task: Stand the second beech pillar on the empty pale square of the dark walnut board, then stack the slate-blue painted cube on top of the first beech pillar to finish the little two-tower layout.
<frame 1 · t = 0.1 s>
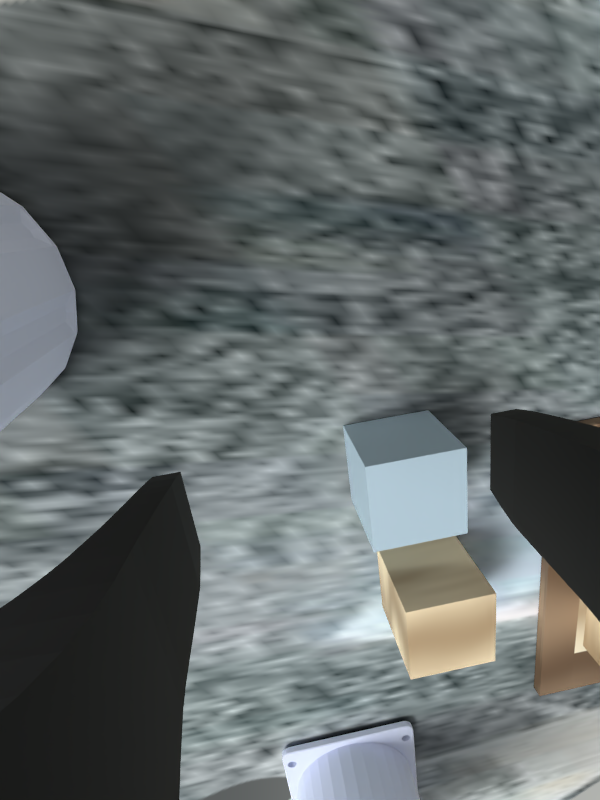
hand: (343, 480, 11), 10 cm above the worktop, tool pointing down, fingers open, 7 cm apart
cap: (388, 455, 22), on the worktop
pillar b: (416, 568, 25), on the worktop
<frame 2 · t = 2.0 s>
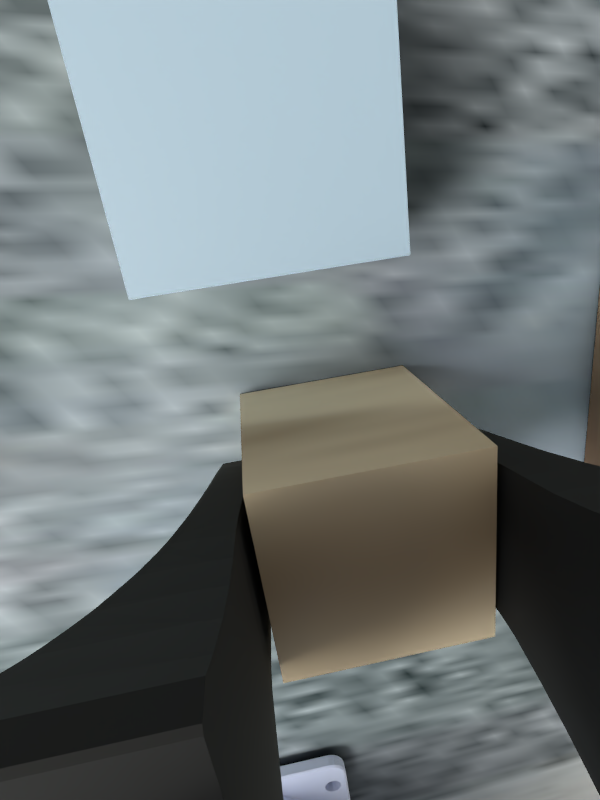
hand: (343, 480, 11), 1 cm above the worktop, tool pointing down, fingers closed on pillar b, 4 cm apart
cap: (243, 156, 10), on the worktop
pillar b: (331, 452, 12), on the worktop, touching gripper
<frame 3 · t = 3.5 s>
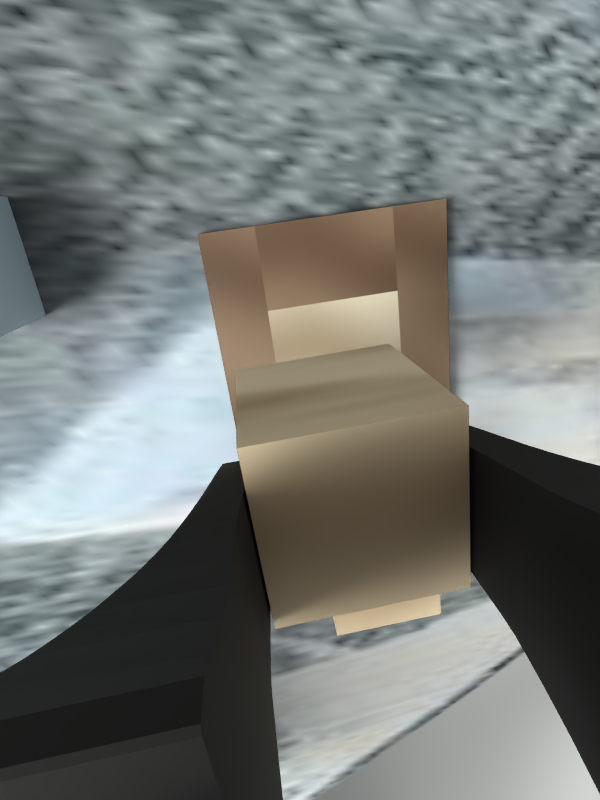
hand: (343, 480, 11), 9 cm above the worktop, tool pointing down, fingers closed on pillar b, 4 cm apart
pillar a: (355, 512, 21), point 1 cm above the worktop, touching board
board: (345, 436, 21), on the worktop
pillar b: (322, 426, 13), point 7 cm above the worktop, touching gripper
when the fingers open (3 cm above the worktop, at t = 5.2 s): pillar b stays where it is, resting on board.
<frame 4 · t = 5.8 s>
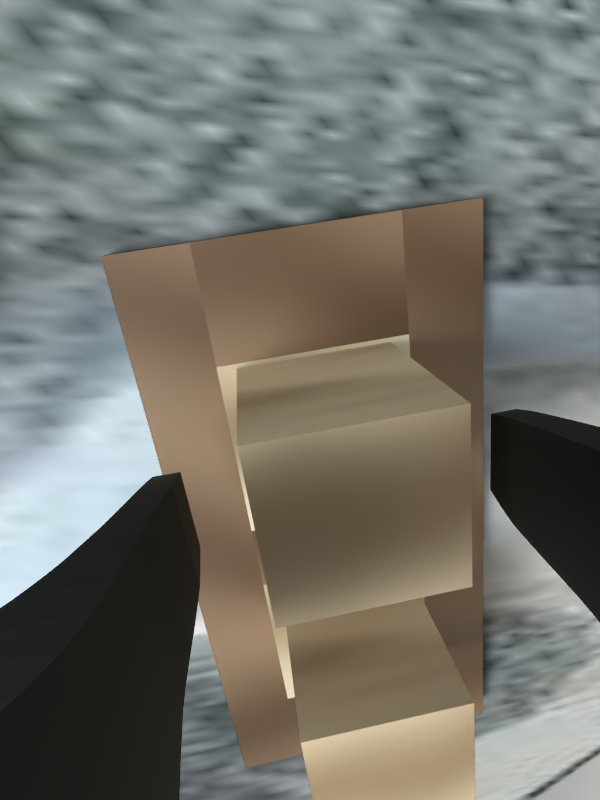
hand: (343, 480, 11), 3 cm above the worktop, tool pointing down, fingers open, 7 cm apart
pillar a: (351, 629, 15), point 1 cm above the worktop, touching board
board: (335, 530, 15), on the worktop
pillar b: (323, 425, 13), point 1 cm above the worktop, touching board
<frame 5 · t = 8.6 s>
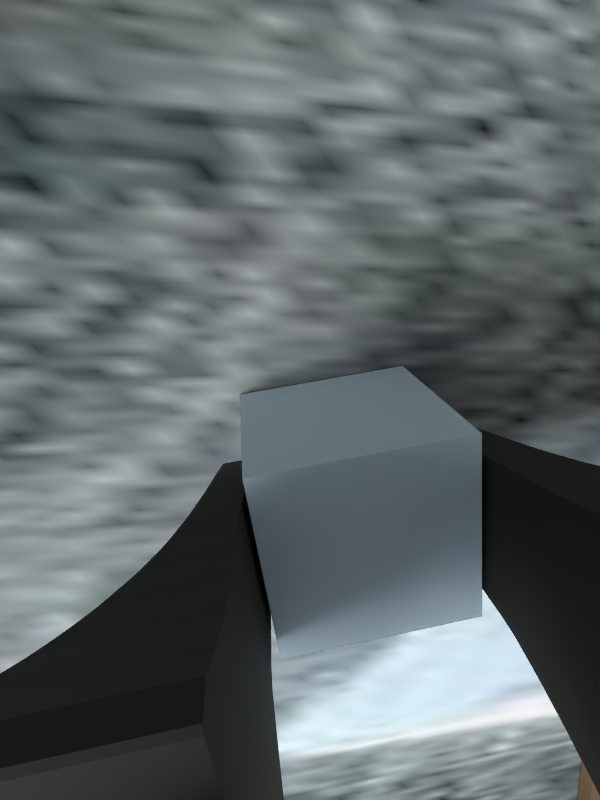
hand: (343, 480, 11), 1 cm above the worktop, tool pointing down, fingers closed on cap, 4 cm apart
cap: (331, 453, 12), on the worktop, touching gripper
when the fingers open (7 cm above the worktop, at t = 11.5 s): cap stays where it is, resting on pillar a.
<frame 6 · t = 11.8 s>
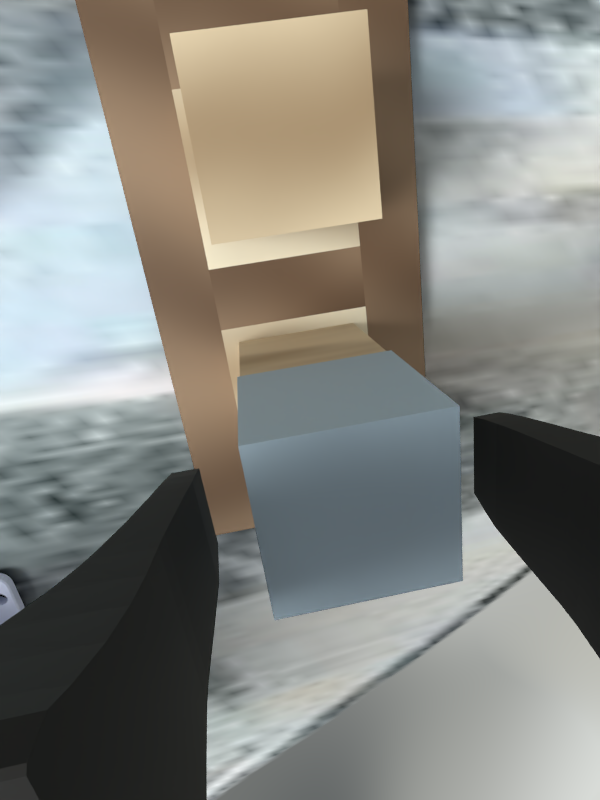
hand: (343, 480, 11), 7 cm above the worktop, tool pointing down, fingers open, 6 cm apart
pillar a: (304, 386, 17), point 1 cm above the worktop, touching board, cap
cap: (324, 433, 13), point 5 cm above the worktop, touching pillar a
board: (287, 286, 16), on the worktop
pillar b: (270, 159, 14), point 1 cm above the worktop, touching board
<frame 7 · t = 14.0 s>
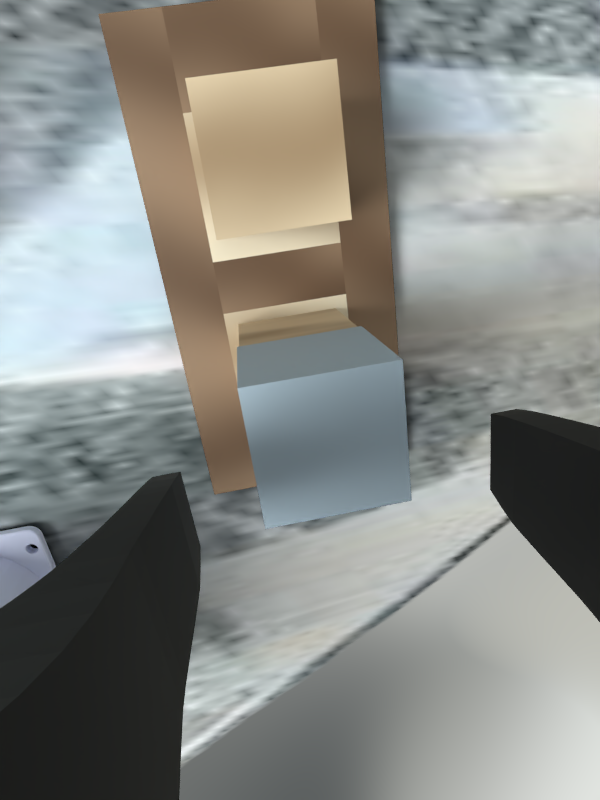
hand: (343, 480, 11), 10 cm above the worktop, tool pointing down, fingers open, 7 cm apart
pillar a: (294, 362, 20), point 1 cm above the worktop, touching board, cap
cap: (308, 395, 16), point 5 cm above the worktop, touching pillar a
board: (280, 277, 19), on the worktop
pillar b: (264, 170, 17), point 1 cm above the worktop, touching board
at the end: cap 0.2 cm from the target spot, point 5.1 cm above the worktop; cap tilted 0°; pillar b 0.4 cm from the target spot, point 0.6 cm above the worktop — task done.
